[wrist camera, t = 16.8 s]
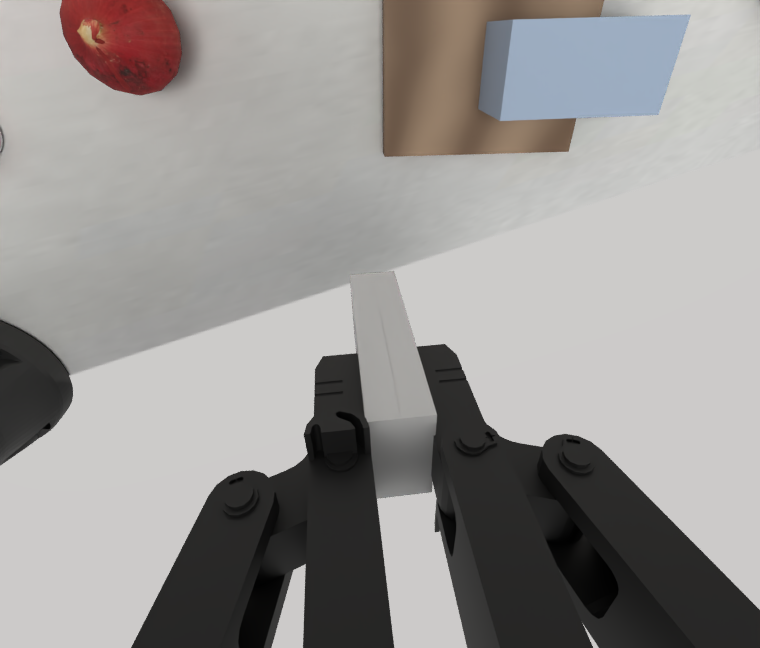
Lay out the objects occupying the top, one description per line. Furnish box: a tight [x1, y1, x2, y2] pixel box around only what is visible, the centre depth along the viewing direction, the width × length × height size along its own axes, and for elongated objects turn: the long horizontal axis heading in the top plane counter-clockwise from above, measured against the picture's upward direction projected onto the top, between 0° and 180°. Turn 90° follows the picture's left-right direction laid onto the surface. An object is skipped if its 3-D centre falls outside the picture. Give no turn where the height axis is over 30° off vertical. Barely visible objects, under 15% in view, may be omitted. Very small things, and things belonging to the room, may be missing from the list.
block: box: [478, 15, 691, 121], centre depth 26 cm, size 5×5×10 cm
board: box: [383, 0, 604, 157], centre depth 29 cm, size 14×11×1 cm
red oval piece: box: [60, 0, 182, 95], centre depth 24 cm, size 6×6×8 cm
